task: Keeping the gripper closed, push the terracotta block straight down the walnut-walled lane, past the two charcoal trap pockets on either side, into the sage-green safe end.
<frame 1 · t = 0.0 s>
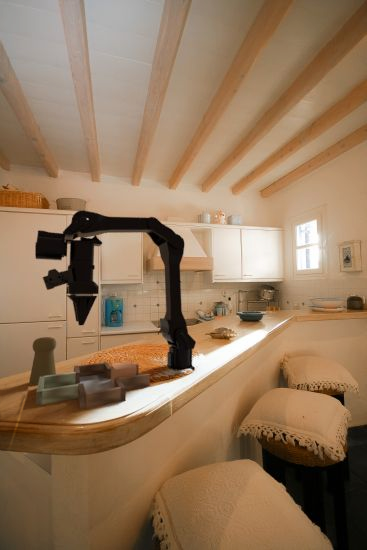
hand: (79, 323, 62), 15 cm above the countertop, fingers open, 9 cm apart
olive green pepper mill: (42, 383, 61), on the countertop
trap lane: (97, 388, 57), on the countertop
block: (123, 382, 60), point 1 cm above the countertop, touching trap lane
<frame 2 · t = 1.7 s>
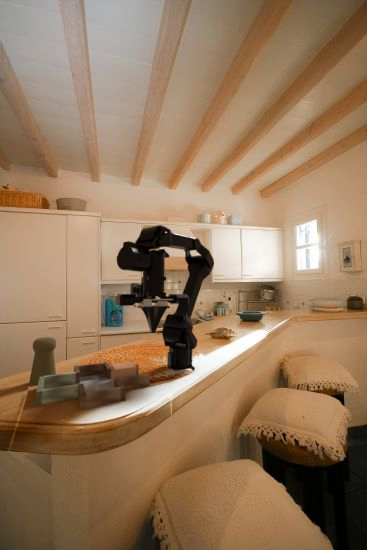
hand: (153, 332, 64), 12 cm above the countertop, fingers closed
nothing on the countertop moved.
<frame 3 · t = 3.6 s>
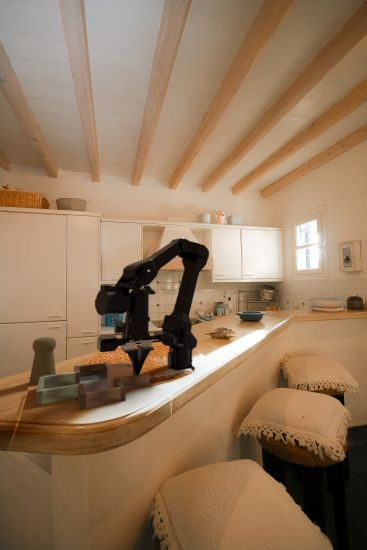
hand: (136, 375, 62), 2 cm above the countertop, fingers closed
block: (119, 382, 60), point 1 cm above the countertop, touching gripper, trap lane
everything else where it was.
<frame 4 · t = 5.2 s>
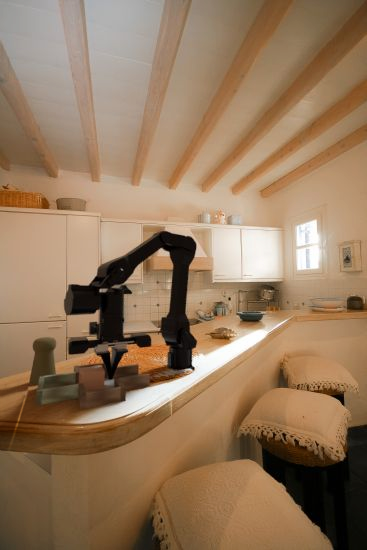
hand: (110, 379, 59), 2 cm above the countertop, fingers closed
block: (91, 387, 57), point 1 cm above the countertop, touching gripper
everything else where it was.
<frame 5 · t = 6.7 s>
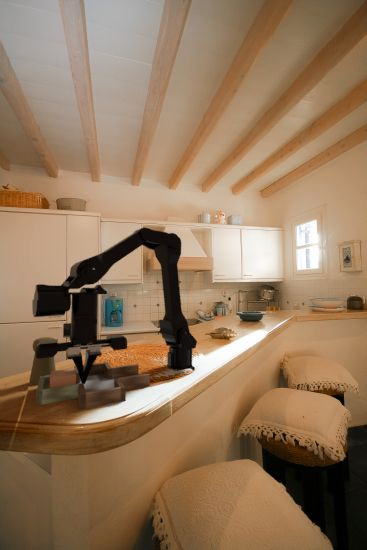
hand: (83, 383, 56), 2 cm above the countertop, fingers closed
block: (62, 391, 54), point 1 cm above the countertop, touching gripper, trap lane
everything else where it was.
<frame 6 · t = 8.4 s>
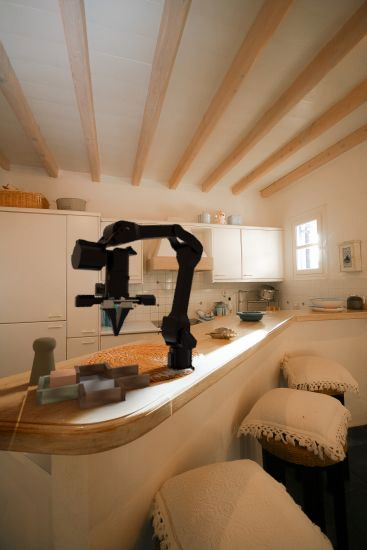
hand: (115, 336, 60), 12 cm above the countertop, fingers closed
block: (62, 391, 54), point 1 cm above the countertop, touching trap lane
everything else where it was.
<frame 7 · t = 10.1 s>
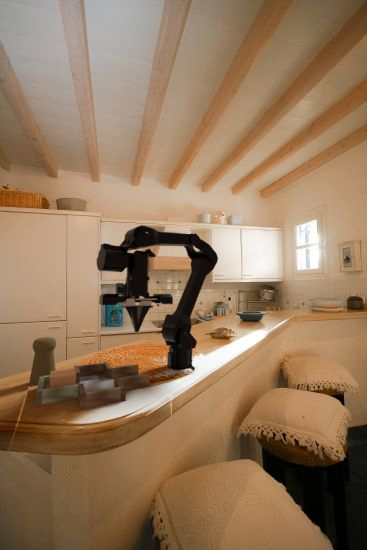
hand: (136, 331, 65), 12 cm above the countertop, fingers closed
nothing on the countertop moved.
at the end: block 0.2 cm from the target spot, point 0.6 cm above the countertop; block tilted 0° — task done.
